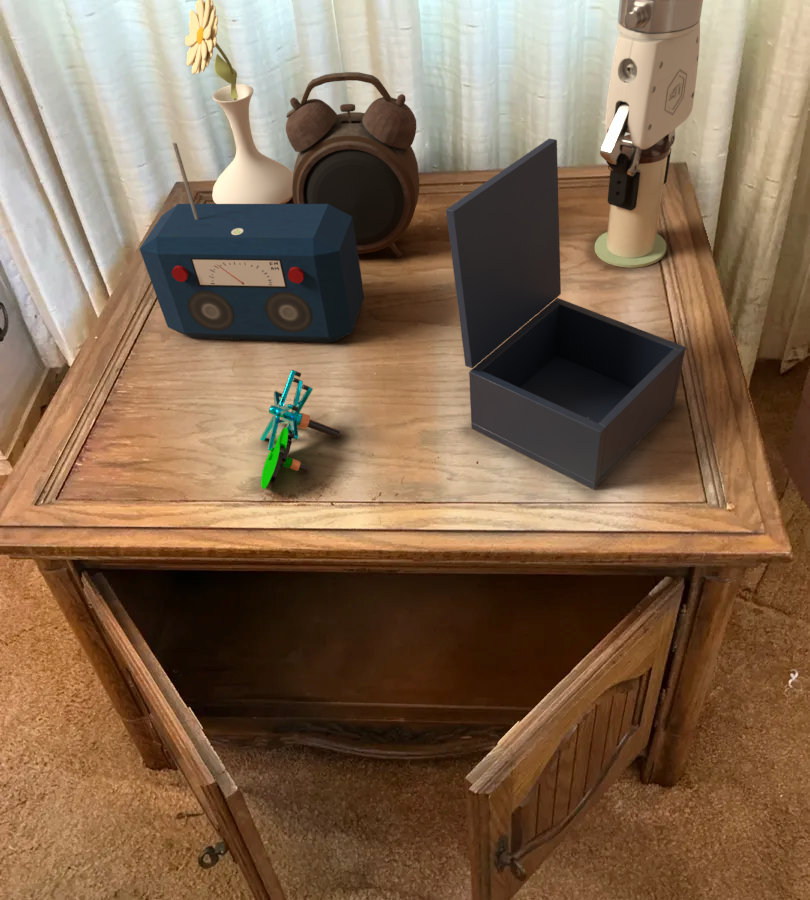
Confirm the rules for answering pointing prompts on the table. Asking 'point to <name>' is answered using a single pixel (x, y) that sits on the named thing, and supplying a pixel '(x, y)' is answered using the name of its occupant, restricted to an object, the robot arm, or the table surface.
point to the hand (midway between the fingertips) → (637, 192)
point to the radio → (255, 270)
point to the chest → (575, 390)
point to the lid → (506, 251)
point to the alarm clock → (357, 161)
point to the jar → (640, 206)
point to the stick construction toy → (288, 431)
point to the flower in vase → (235, 123)
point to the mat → (630, 262)
